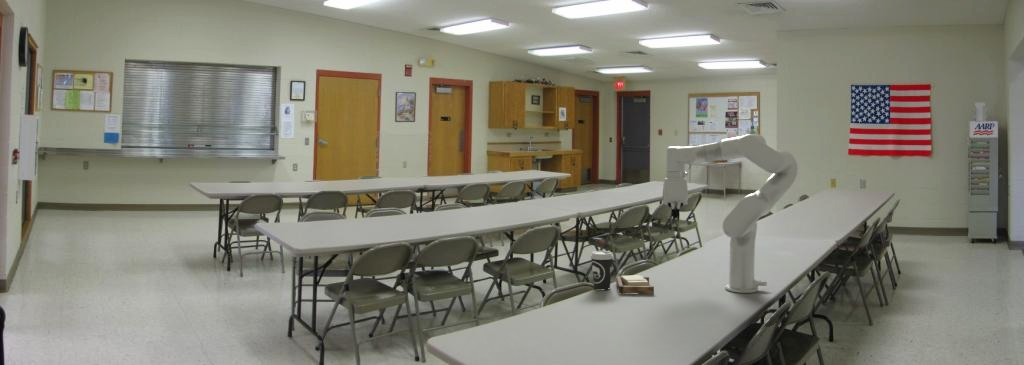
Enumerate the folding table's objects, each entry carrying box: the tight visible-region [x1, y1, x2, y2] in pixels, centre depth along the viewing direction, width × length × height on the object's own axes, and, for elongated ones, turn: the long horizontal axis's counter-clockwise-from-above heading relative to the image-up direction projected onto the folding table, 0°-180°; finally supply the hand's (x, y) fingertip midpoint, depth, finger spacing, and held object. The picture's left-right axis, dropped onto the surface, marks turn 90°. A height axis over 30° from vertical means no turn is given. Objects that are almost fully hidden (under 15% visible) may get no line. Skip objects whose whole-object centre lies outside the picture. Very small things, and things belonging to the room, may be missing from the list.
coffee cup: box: [589, 250, 614, 291], centre depth 270 cm, size 10×10×15 cm
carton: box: [620, 274, 649, 286], centre depth 270 cm, size 8×12×5 cm
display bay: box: [615, 275, 655, 295], centre depth 269 cm, size 14×18×3 cm
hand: (675, 218), depth 281 cm, fingers closed
